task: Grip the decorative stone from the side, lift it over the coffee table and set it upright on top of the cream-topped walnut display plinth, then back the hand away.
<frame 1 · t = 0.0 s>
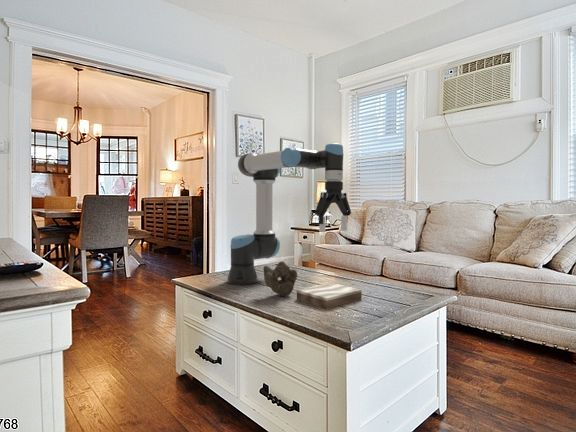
hand: (333, 231, 155), 28 cm above the table, tool pointing down, fingers open, 13 cm apart
decorative stone: (279, 295, 159), on the table
display plinth: (329, 299, 152), on the table
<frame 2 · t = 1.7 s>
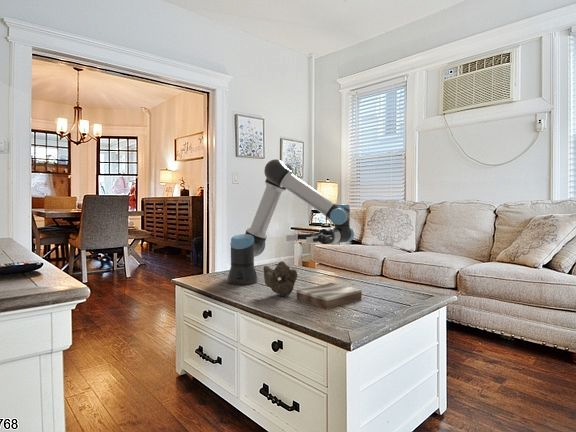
hand: (296, 239, 164), 24 cm above the table, tool horizontal, fingers open, 13 cm apart
nothing on the table moved.
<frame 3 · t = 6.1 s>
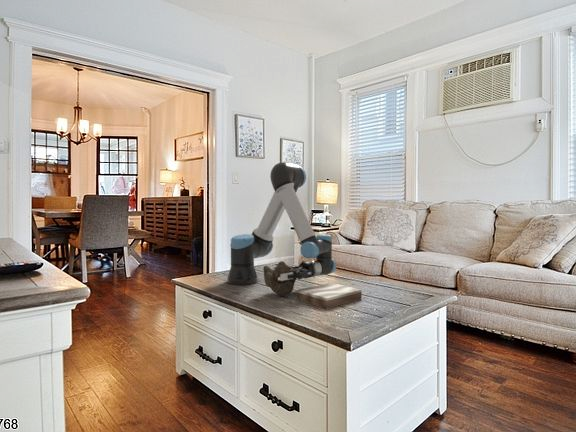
hand: (272, 275, 156), 9 cm above the table, tool horizontal, fingers closed on decorative stone, 11 cm apart
decorative stone: (279, 295, 159), on the table, touching gripper
when the fingers open (14 cm above the table, at t = 12.4 s): decorative stone drops 1 cm, resting on display plinth.
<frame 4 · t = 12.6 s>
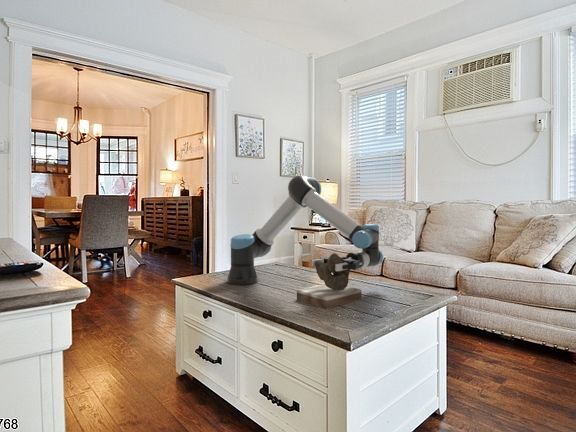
hand: (323, 265, 149), 14 cm above the table, tool horizontal, fingers open, 13 cm apart
decorative stone: (334, 290, 150), point 4 cm above the table, touching display plinth, gripper
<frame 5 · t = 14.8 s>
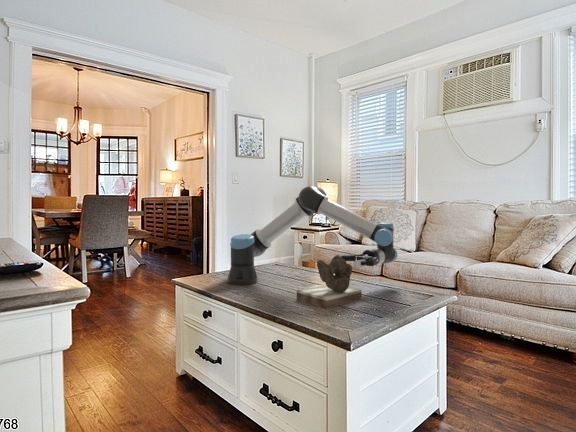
hand: (342, 262, 156), 15 cm above the table, tool horizontal, fingers open, 13 cm apart
decorative stone: (334, 291, 150), point 4 cm above the table, touching display plinth
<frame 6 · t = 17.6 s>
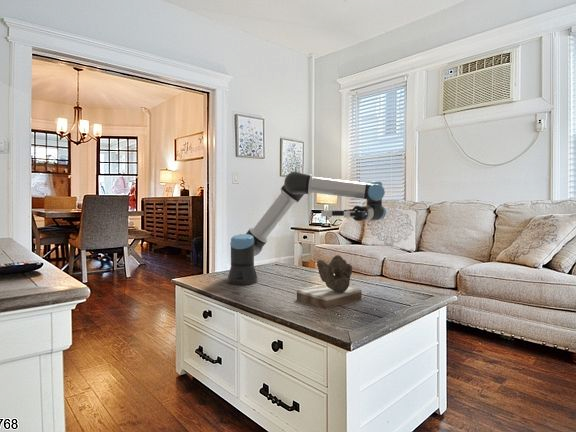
hand: (332, 214, 165), 35 cm above the table, tool horizontal, fingers open, 13 cm apart
nothing on the table moved.
at the end: decorative stone inside the target area on the display plinth (2.7 cm from its centre), point 3.8 cm above the display plinth's base; decorative stone tilted 0°; the gripper is holding nothing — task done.
